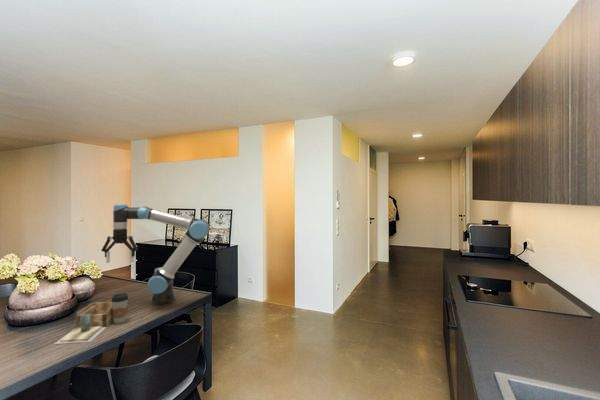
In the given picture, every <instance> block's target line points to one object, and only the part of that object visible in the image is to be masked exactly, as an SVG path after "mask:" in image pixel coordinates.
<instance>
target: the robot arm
mask: <svg viewBox="0 0 600 400" xmlns="http://www.w3.org/2000/svg"><path fill="white" fill-rule="evenodd" d="M112 214H113V219H112V221H113V223H112V225H113V226H112V229H113V230H112V236H111V235H108V236H107V237H106V241H105V243H104V245H103V246H102V248H101V250H100V251H101V252H103V253H104V257H105V258H106V264H108V263H110V261H111V260H110V259H111V252H110V250H111V249H112V248H113V247H114V246H115V245H116V244H124V245H125V246H126V247H127V248H128V249H129V250H130V253H129V263H133V262H134V257H135V256H136V254H135V253H136V251H138V250H139V248H138V246H137V244H136V242H135V240H134V239H133V238H134V237H133V235H129V236H128V220H151V221H153V222H157V223H161V224H166V225H169V226H173V227H178V228H181V229H186V230H187V231H186V232H185V233H184V235H185V237H184V238H183V239H182V241H181V243H179V244H178V246H177V247H176V249H175V250H174V252H173V253H172V254H171V256H170V257H168V259H167V261H166V262H165V263H164V264H163V266H162V267H157V268H155V269H154V274H153V275H152V276H151V277H150V278H149V279H148V282H147V289H148V291H150V292H151V293H152V296H151V299H150V300H151V301H150V302H151V304H153V305H166V304H171V303H173V302H175V301H176V295H175V291H174V289H173V288H174V286H173V285H174V279H175V274H176V273H177V271H178V270H179V268H180V267H181V266H182V264H183V263H184V261H185V260H186V259H187V258H188V256H189V255H190V254H191V252H192V251H193V250H194V248H195V247H196V246H197V245H198V244H199V245H200V244H202V243H201V242H202V241H203V240H204V239H205V237H207V236H208V235H209V232H210V229H211V227H210V224H209V222H208V221H207V220H204V219H199V218H194V217H191V218H189V217H185V216H181V215H178V214H173V213H170V212H166V211H162V210H158V209H154V208H150V207H148V206H139V207H138V206H137V207H129V206H128V204H123V203H121V204H120V203H117V204H114V205H113V210H112ZM111 241H112V243H111ZM129 242H130V243H129Z"/></svg>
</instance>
